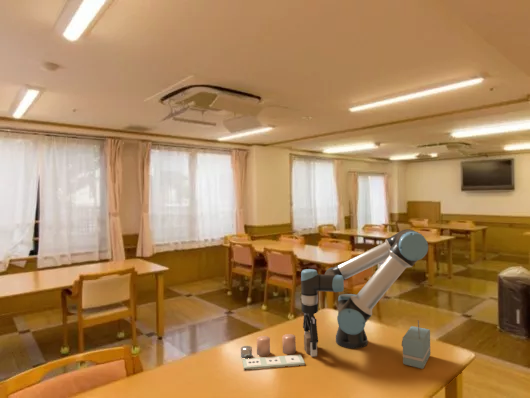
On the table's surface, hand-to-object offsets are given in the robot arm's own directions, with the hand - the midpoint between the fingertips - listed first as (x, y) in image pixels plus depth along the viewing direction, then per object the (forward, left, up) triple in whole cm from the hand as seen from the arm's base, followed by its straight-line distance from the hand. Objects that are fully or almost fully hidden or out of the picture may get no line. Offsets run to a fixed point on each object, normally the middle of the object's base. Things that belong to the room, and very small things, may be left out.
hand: (310, 350), depth 161 cm
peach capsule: (+10, -1, 0) cm, 10 cm away
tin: (+30, +1, 0) cm, 30 cm away
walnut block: (0, 0, 0) cm, 0 cm away
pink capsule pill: (+22, -1, 0) cm, 22 cm away
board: (+19, +9, 0) cm, 21 cm away
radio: (-42, +17, -1) cm, 45 cm away
